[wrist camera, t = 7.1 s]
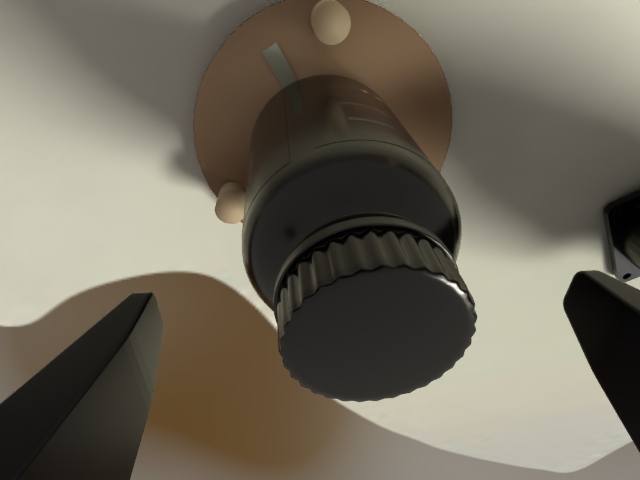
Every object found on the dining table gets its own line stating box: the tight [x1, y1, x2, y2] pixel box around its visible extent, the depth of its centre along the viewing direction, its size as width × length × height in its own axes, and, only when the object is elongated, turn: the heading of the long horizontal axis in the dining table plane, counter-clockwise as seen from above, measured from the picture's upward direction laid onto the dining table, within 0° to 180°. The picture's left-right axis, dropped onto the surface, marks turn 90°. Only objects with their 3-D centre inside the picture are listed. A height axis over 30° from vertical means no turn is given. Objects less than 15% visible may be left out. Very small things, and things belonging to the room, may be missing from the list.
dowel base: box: [193, 0, 452, 224], centre depth 19 cm, size 12×12×3 cm
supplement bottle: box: [242, 75, 477, 402], centre depth 15 cm, size 7×7×12 cm
